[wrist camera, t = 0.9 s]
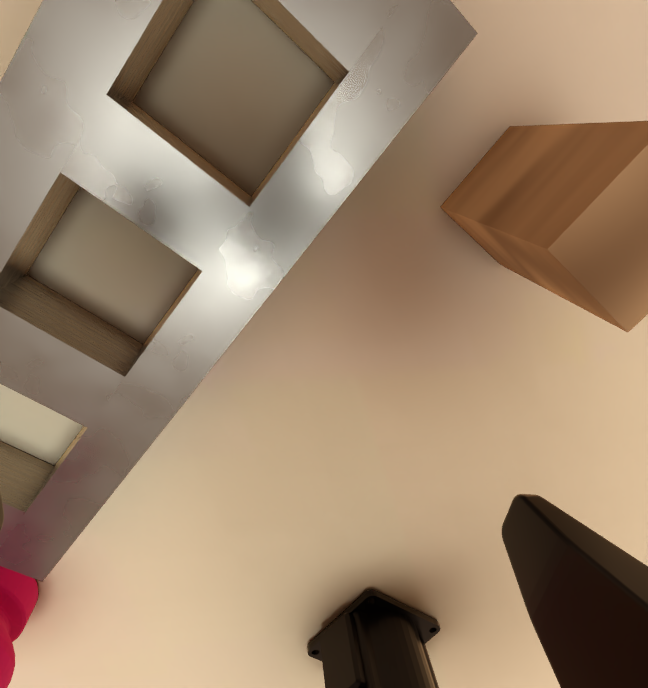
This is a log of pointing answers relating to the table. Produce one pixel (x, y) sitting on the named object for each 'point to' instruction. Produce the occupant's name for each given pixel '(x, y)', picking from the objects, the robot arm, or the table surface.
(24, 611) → the pepper mill
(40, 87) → the grey peg hole board
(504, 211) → the walnut peg
